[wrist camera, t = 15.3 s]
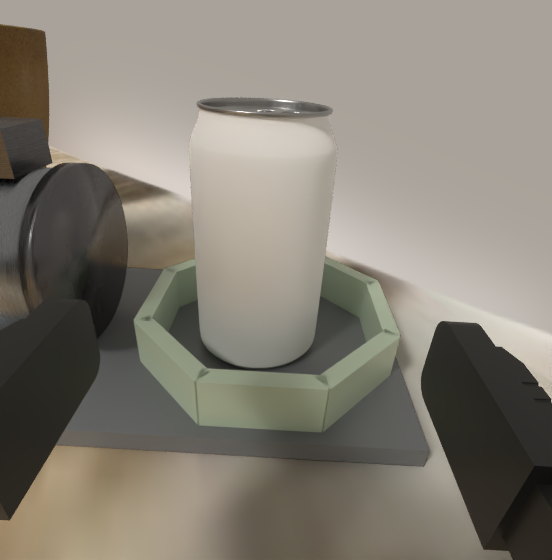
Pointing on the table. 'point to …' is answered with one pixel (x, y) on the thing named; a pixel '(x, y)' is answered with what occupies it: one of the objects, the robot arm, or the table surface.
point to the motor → (56, 229)
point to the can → (260, 225)
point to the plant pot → (24, 74)
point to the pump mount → (250, 381)
